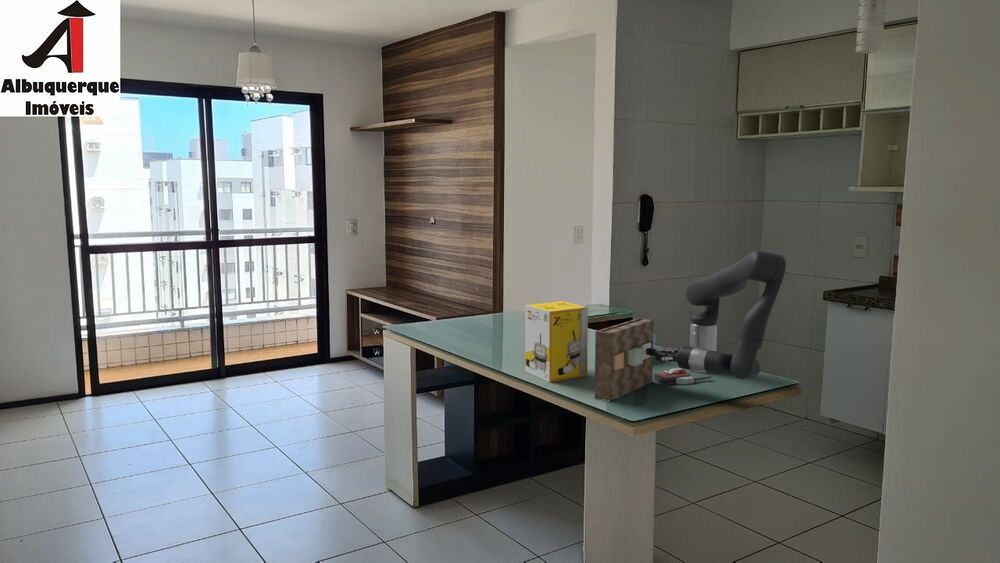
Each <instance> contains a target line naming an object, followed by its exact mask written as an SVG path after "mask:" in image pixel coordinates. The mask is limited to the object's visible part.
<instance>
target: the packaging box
mask: <svg viewBox="0 0 1000 563" xmlns="http://www.w3.org/2000/svg"><path fill="white" fill-rule="evenodd" d="M588 313H589V308H588V306H584V305H580V304H575V303H571V302H568V301H565V300H560V301H559V300H558V301H551V302H541V303H533V304H532V303H531V304H530V303H529V304H525V305H524V353H525V354H524V357H525V358H524V362H525V363H524V364H525V366H524V367H525V368H524V369H525V373H527V372H528V373H527V374H529V373H530V375H531V376H533V377H537V378H538V379H541V380H543V381H546V382H548V383H553V382H558V381H559V382H560V381H563V380H564V379H565V380H570V379H569V378H571V379H575V377H576V378H581V377H587V376H588V340H589V338H588V337H589V335H588V330H589V328H588V326H589V325H588V323H589V322H588V320H589V318H588V317H589V316H588Z"/></svg>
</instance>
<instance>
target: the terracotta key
mask: <svg viewBox="0 0 1000 563" xmlns="http://www.w3.org/2000/svg"><path fill="white" fill-rule="evenodd" d="M623 367H624V353H623V352H618V353H615V354H613V371H617V370H619V369H622V368H623Z"/></svg>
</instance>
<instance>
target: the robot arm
mask: <svg viewBox="0 0 1000 563" xmlns="http://www.w3.org/2000/svg"><path fill="white" fill-rule="evenodd" d="M786 270H787V262H786V259H785V257H784V256H783V255H781V254H779V253H775V252H768V251H763V250H753V251H752V252H749V253H748V254H746V255H745V256H744V257H742V258H741V259H740V260H738V261H736V262H734V263H733V264H731V265H728V266H726V267H724V268H722V269H720V270H718V271H715V272H714V273H712V274H709V275H708V276H706V277H704V278H700V279H697V280H693V281H691V282H690V283H689V284H688V285H687V287H686V291H685V298H686V300H687V301H688V302H689V304H690V305H693V306H695V307H697V306H698V307H701V306H703V307H702V309H701V310H700V311H698V312H696V313H693V314H692V315H691V317H690V334H689V335H690V336H689V337H690V338H689V339H690V342H689V345H682V346H681V347H663V348H656V349H654V348H648V349H646V354H647V355H651V356H653V357H654V359H655V360H657V361H659V362H661V363H666V362H668V363H676V364H677V366H678V368H681V369H684V370H688V371H692V372H697V373H711V374H715V375H729V376H734V377H735V378H736V379H739V380H746V379H749V380H750V379H754V378H755V377H757V376H758V374H759V373H761V372H760V371H761V365H760V362H759V360H758V359H757V358H756V356H757V352H758V351H759V350H760V349H761V348H762V347H763V343H764V339H765V334H766V329H767V325H768V321H769V318H770V314H771V312H772V310H773V307H774V304H775V302H776V299H777V296H778V294H779V291H780V288H781V286H782V283H783V280H784V277H785V273H786ZM750 280H751V281H756V282H761V283H765V285H764V286H765V287H764V289H763V292H762V294H761V296H760V297H759V299H758V300H757V301H756V302H755V303H754V305H752V307H751V308H750V309H749V310H748V312H747V313H746V314H745V316H744V318H743V320H742V323H741V328H740V333H739V337H738V342H737V344H736V346H735V348H734V351H733V353H725V352H722V351H717V334H718V333H717V330H718V329H717V327H718V325H717V324H718V319H719V315H720V314H719V313H720V312H719V311H720V301H721V298H725V297H729V296H733V295H735V294H738V293H740V292H742V291H744V289H745V288H746V286H747V284H748V281H750Z"/></svg>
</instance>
